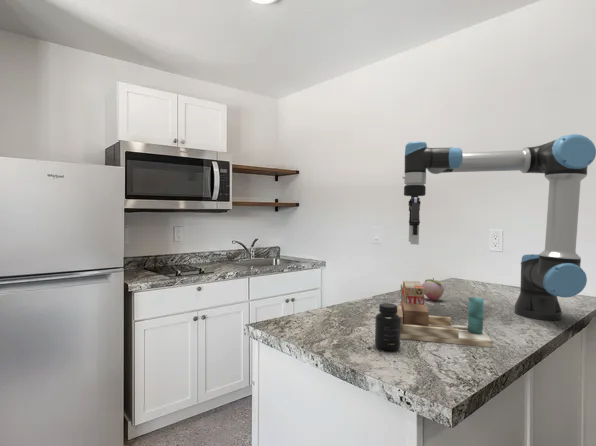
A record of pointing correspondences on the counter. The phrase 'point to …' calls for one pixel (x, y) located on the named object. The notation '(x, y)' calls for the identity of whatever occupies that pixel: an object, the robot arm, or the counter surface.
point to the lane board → (442, 332)
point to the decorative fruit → (433, 289)
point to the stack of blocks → (412, 293)
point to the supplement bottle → (387, 328)
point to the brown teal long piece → (420, 316)
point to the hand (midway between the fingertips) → (413, 243)
